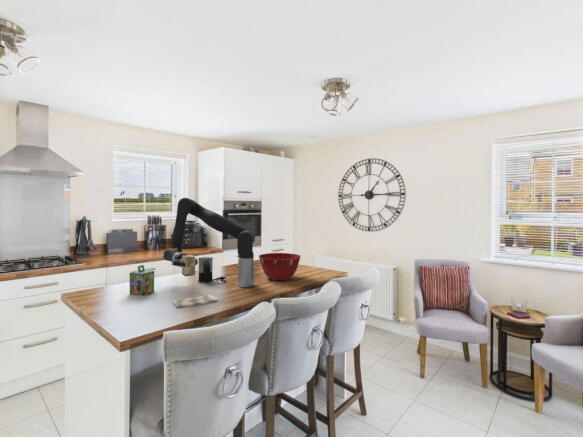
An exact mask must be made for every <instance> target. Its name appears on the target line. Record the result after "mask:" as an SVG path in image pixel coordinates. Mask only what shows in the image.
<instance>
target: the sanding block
mask: <svg viewBox="0 0 583 437" xmlns="http://www.w3.org/2000/svg"><path fill="white" fill-rule="evenodd" d="M195 258H196V256H195V255H193V254H187V255H183V256H182V261H183V262H185V267H183V266H182V267H181V274H182V276H184V277H191V276H196V266H195Z"/></svg>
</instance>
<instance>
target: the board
mask: <svg viewBox="0 0 583 437" xmlns="http://www.w3.org/2000/svg"><path fill="white" fill-rule="evenodd" d="M171 302H172V305H174V307H175V308H177V309H180V308H188V307H192V306H198V305H205V304H210V303H216V302H219V299H218V298H217V297H216V296H214V295H212V294H208V295H203V296H195V297H190V298H183V299H177V300H176V299H175V300H172V301H171Z"/></svg>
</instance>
